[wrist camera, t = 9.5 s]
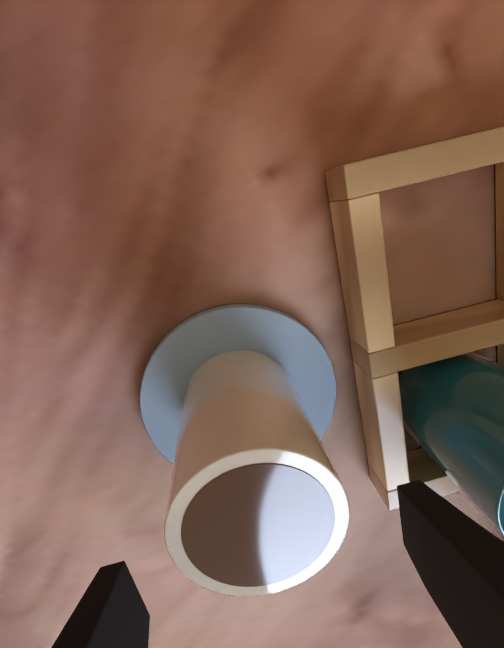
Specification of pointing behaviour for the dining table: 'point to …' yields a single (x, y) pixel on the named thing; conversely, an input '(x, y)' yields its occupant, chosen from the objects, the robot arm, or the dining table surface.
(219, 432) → the cream cup
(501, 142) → the cup holder
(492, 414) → the teal cup
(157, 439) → the coaster
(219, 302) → the dining table surface
